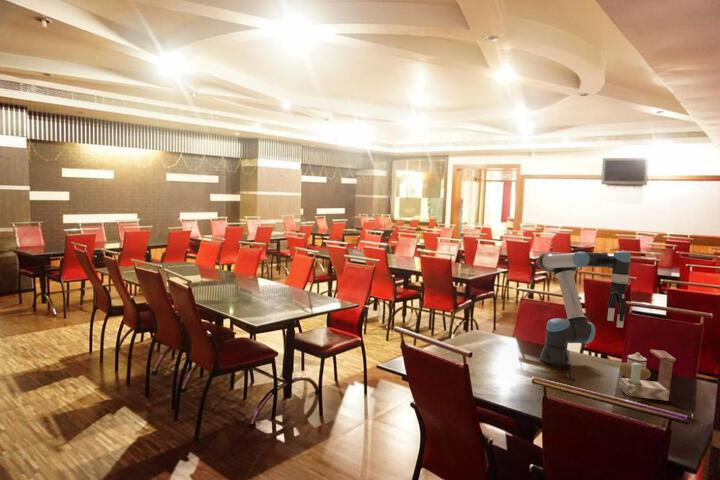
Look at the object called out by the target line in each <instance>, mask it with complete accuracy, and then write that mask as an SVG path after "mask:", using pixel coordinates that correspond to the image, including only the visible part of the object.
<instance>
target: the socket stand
mask: <svg viewBox="0 0 720 480" xmlns="http://www.w3.org/2000/svg"><path fill="white" fill-rule="evenodd" d="M649 352H650V353H651V354H652V355H654V356H655V357H656V358H658V359H659V367H658V368H659V369H658V376H657V381H651V380H640V383H639V385H635V384H630V379H628V378H626V377H619V382H618V388H619V390H620V389H621V390H620V391H621V392H622V391H623V392H624V393H625V394H626V395H628V396H627V397H633V396H635V397H634V398H644V399H650V400H660V401H665V402H667V401H668V402H669V399H670V398H669V397H670V392H671V382H672V374H673V367H674V362H676V361H677V360H676V358H675V357H674V356H672V355H671V354H670V353H668V352H667V351H665V350H659V349H650V350H649ZM623 392H622V393H623ZM624 393H623V394H624ZM625 394H624V395H625ZM626 395H625V396H626Z"/></svg>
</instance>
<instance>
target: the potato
mask: <svg viewBox="0 0 720 480" xmlns="http://www.w3.org/2000/svg"><path fill="white" fill-rule="evenodd" d="M619 370H620V373H621V375H623V376H624V378H628V379H631V370H632V364H630V363H627V362H622V363H620V365H619ZM651 373H652V372H651V371H650V370H649V369H648V368H647V367H646V368H644V367H641V374H640V380H645V381H647V380H648V379H650V377H651V375H652V374H651Z"/></svg>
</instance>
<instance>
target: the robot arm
mask: <svg viewBox="0 0 720 480" xmlns="http://www.w3.org/2000/svg"><path fill="white" fill-rule="evenodd" d="M631 258H632V254H631V252H629V251H621V250H615V251H614V253H610V252H604V251H602V252H601V251H600V252H589V251H576V252H570V253H569V252H548V251H547V252H544V253H542V254H540V255H539V256H538V258H537V265H538V268H539V269H541V270H542V271H544V272H548V273H553V274H554V278H555V279H558V283H559V287H560V291H561V296H562V299H563V305H564V309H565V313H566V316H567V317H566V318H559V317H557V318H552V319H551V318H550V319H549V320H548V321H547V323H546V327H545V329H546V330H545V339H544V341H545V342H544V346H543V349H542V351H541V353H540V357H539V359H540V361H542V362H544V363H546V364H549V365H554V366H562V367H563V366H568V365H570V355H569V351H568V346H569V345H568V344H590V343H591V342H592V341H593V340H594V339H595V336H596V327H595V325H594V324H593V323H592V322H591V321H589V319H588V317H587V316H586V315H584V311H583V308H582V307H583V306H582V304H581V300H580V296H579V291H578V288H577V284H576V280H575V275H576V272H577V271H578V268H586V267H587V268H606V269H607V268H608V269H611V275H610V276H611V277H610V281H611V282H610V294H609V297H608V300H607V304H606V305H607V307H608V311H607V322H608V321H610V322H614V319H615V318H614V317H615V311H616V310H615V309H616V305H617V309H618V312H617V319H616V328H621V329H623V328H624V322H625V315H627V300H626V299H627V294H626V293H625V294H624V292H627V291H628V287H629V284H628V283H629V279H630V270H631V262H632V260H631Z"/></svg>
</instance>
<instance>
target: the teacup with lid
mask: <svg viewBox="0 0 720 480" xmlns="http://www.w3.org/2000/svg"><path fill="white" fill-rule="evenodd" d="M626 358H627V362H626V363H630V364H632V363H639V364H641V365H642V366H641V367H644V368H646V369H647V362H648V359H647V358H646V357H644V356H642V355H641V353H640V352H635V353H633V354H628V355H627V357H626Z"/></svg>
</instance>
